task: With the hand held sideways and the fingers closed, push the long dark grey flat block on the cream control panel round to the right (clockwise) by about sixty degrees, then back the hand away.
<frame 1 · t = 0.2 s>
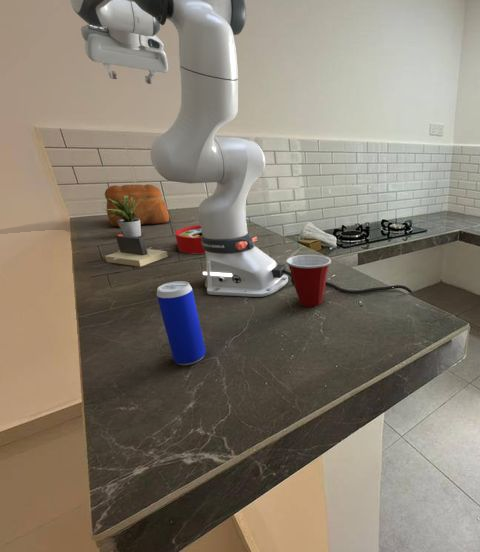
hand: (131, 80, 106), 54 cm above the counter, tool tilted 30°, fingers open, 8 cm apart
panel: (138, 259, 106), on the counter
bread: (141, 223, 148), on the counter
dark grey flat block: (131, 244, 105), point 5 cm above the counter, hinge at 0.0°
beverage can: (191, 359, 61), on the counter
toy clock: (209, 246, 123), on the counter
house plant: (131, 235, 130), on the counter
plastic cup: (311, 302, 85), on the counter
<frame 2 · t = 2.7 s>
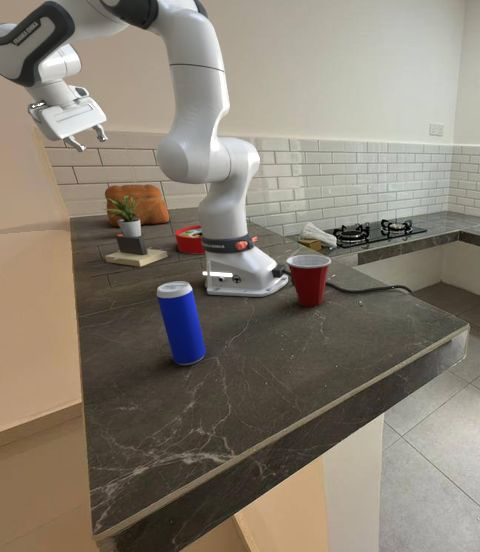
hand: (94, 146, 100), 34 cm above the counter, tool tilted 25°, fingers open, 8 cm apart
nothing on the counter moved.
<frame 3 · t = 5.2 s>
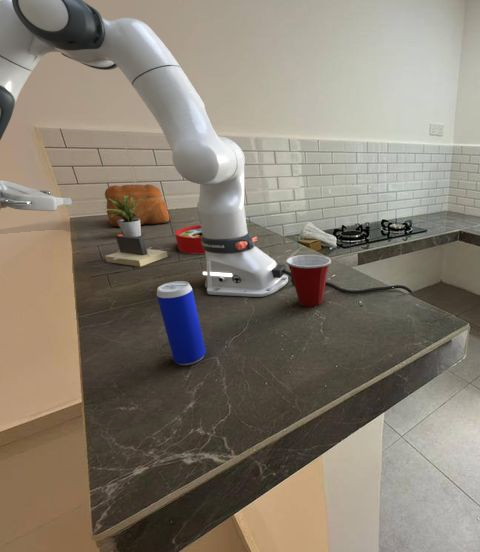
hand: (59, 197, 88), 21 cm above the counter, tool horizontal, fingers open, 8 cm apart
nothing on the counter moved.
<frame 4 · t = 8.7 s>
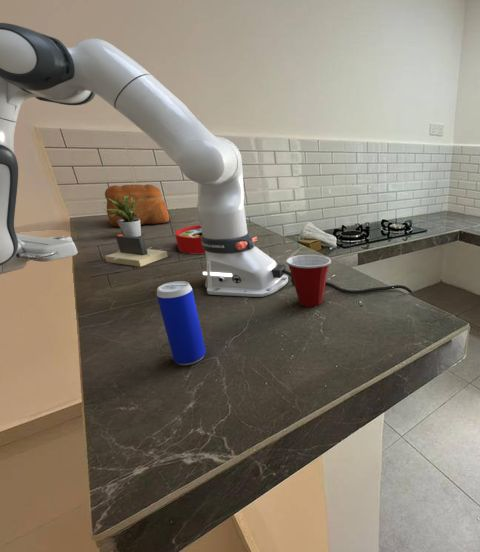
hand: (68, 239, 91), 10 cm above the counter, tool horizontal, fingers closed
nothing on the counter moved.
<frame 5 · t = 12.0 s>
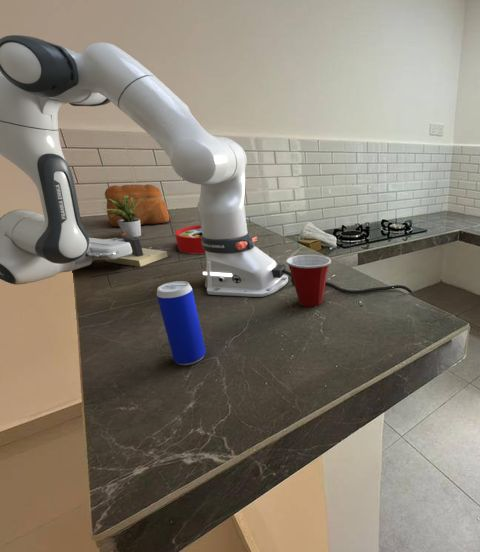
hand: (121, 240, 105), 6 cm above the counter, tool horizontal, fingers closed, pressing on dark grey flat block
dark grey flat block: (131, 244, 105), point 5 cm above the counter, hinge at -19.4°, touching gripper
everything else where it was.
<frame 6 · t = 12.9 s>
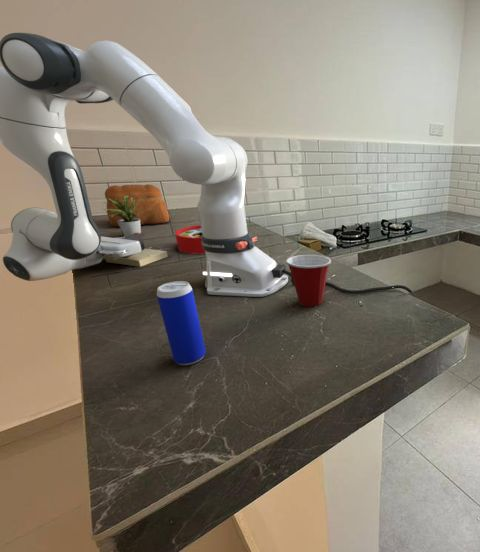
hand: (129, 239, 107), 6 cm above the counter, tool horizontal, fingers closed
dark grey flat block: (131, 244, 105), point 5 cm above the counter, hinge at -71.9°, touching gripper
everything else where it was.
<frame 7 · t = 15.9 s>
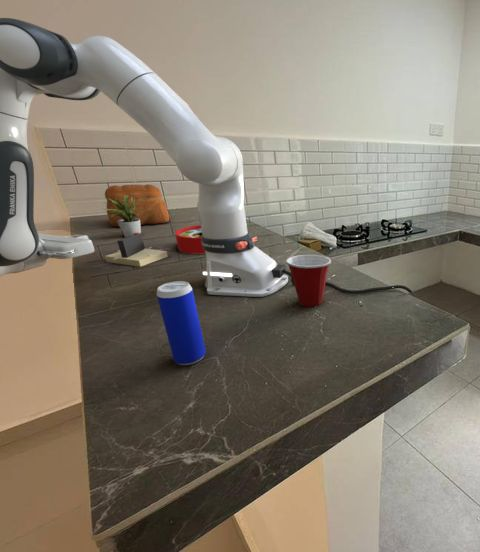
hand: (84, 237, 93), 10 cm above the counter, tool horizontal, fingers closed
dark grey flat block: (131, 244, 105), point 5 cm above the counter, hinge at -71.8°
everything else where it was.
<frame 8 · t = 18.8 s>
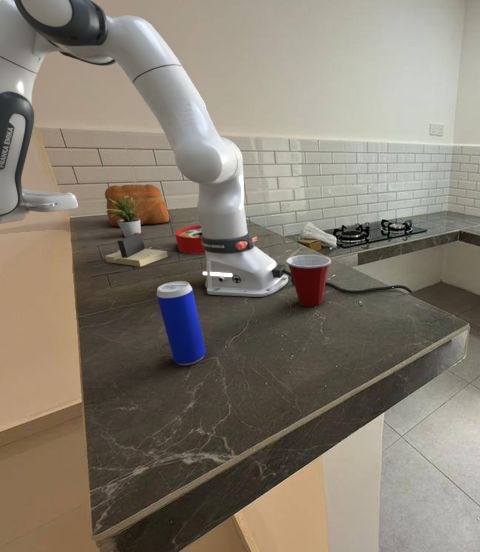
hand: (68, 195, 88), 22 cm above the counter, tool horizontal, fingers closed
nothing on the counter moved.
at the end: dark grey flat block at -72° (first picture: +0°) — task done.
